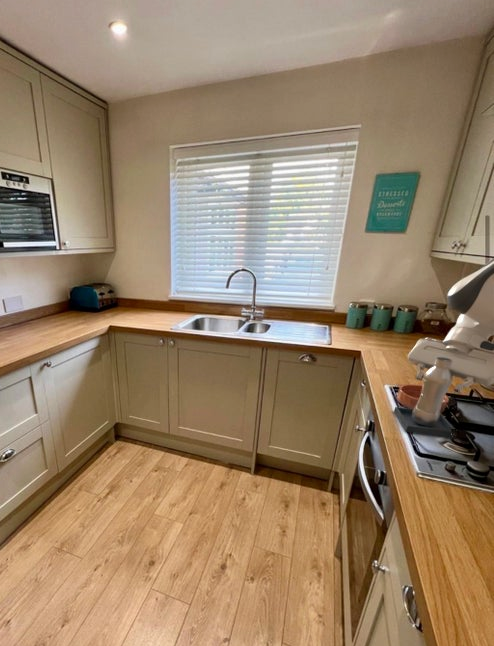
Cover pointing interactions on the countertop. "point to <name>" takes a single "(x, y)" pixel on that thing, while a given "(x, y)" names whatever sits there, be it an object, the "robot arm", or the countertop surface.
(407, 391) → the bowl
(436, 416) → the plastic bottle
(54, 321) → the countertop surface
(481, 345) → the robot arm
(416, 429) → the tray
